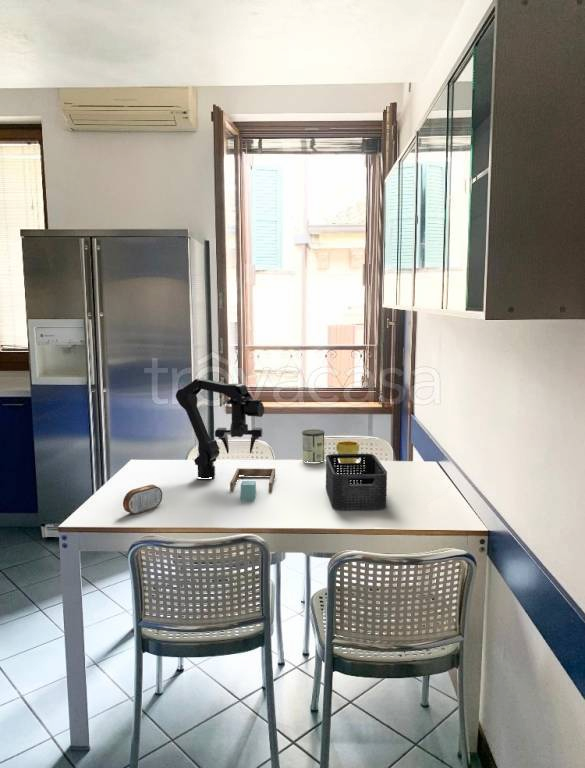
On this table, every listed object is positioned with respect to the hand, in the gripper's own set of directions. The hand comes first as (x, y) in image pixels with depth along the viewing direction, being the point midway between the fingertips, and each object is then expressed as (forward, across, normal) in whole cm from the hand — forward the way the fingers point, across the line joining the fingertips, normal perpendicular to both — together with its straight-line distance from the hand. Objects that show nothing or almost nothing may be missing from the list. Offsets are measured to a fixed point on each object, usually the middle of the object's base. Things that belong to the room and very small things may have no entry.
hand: (239, 453), depth 230 cm
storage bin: (+12, +45, -19) cm, 51 cm away
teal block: (+12, +6, -21) cm, 25 cm away
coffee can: (+12, +30, +34) cm, 47 cm away
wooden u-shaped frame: (+12, +6, -3) cm, 14 cm away
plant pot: (+12, +46, +29) cm, 55 cm away
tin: (+12, -29, -35) cm, 47 cm away
